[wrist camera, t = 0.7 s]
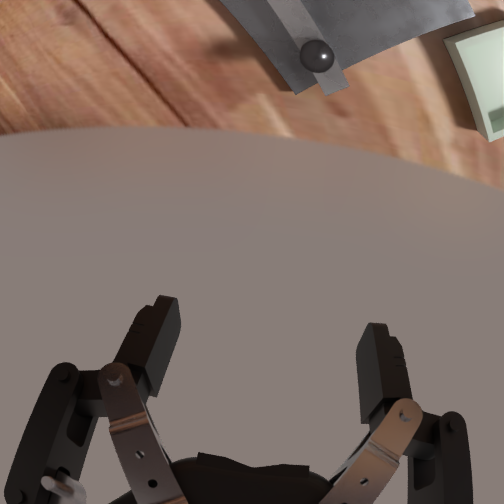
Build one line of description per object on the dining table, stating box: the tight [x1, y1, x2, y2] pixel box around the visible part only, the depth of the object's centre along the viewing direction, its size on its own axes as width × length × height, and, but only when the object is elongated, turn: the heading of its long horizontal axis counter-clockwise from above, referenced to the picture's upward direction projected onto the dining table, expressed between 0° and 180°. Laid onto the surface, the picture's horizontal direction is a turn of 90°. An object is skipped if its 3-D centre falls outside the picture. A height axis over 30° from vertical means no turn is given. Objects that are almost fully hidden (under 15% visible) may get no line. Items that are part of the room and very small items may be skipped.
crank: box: [267, 0, 349, 96], centre depth 18 cm, size 16×4×7 cm, turn 32°
